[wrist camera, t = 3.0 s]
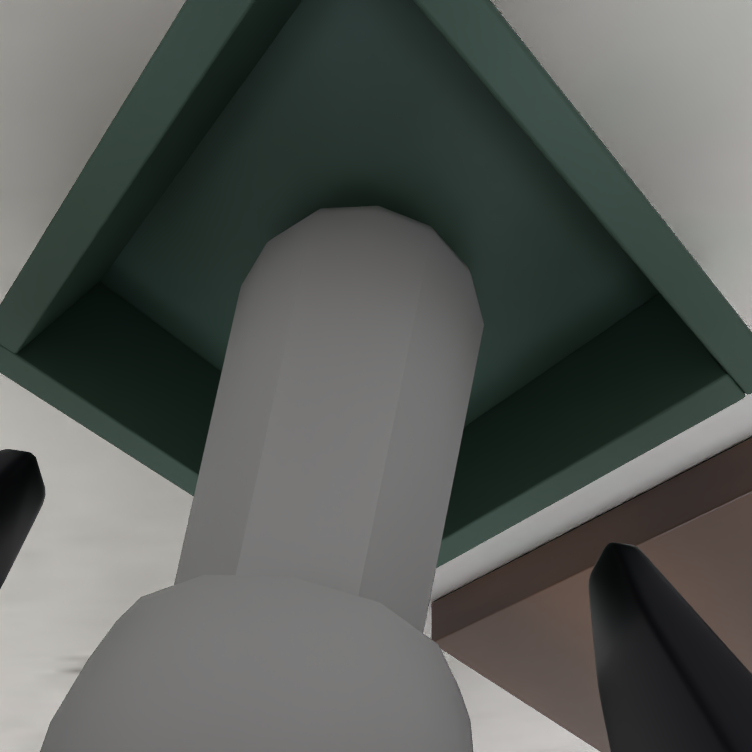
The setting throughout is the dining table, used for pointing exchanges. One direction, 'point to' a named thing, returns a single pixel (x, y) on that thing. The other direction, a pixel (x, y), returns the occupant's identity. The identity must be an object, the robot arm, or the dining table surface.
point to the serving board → (571, 593)
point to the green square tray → (393, 192)
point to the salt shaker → (309, 516)
